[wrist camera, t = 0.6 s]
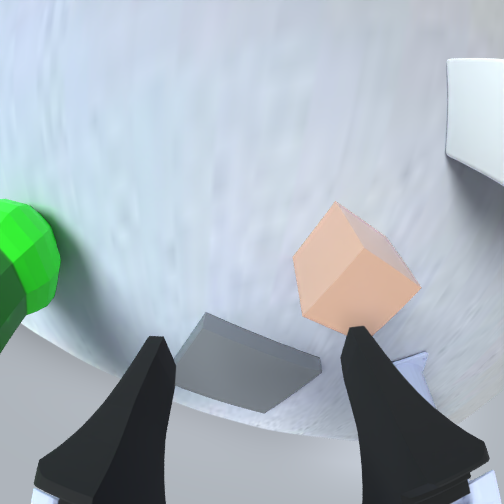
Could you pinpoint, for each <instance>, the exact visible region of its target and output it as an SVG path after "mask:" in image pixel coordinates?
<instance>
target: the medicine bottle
mask: <svg viewBox="0 0 504 504" xmlns="http://www.w3.org/2000/svg"><path fill="white" fill-rule="evenodd" d="M447 78H448V121H447V140H446V154H447V155H448V156H449V157H451V158H453V159H455V160H457V161H459V162H461V163H463V164H465V165H467V166H469V167H471V168H473V169H474V170H476V171H478V172H480V173H482V174H483V175H485V176H487V177H489V178H490V179H492V180H494V181H496V182H497V183H499V184H501V185H502V186H504V59H491V58H453V59H448V60H447Z"/></svg>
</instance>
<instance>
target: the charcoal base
mask: <svg viewBox="0 0 504 504" xmlns="http://www.w3.org/2000/svg"><path fill="white" fill-rule="evenodd" d="M174 362H175V364H176V378H175V386H178V387H181V388H183V389H186V390H189V391H191V392H194V393H197V394H200V395H203V396H206V397H209V398H212V399H215V400H218V401H221V402H225V403H228V404H231V405H235V406H238V407H242V408H245V409H249V410H253V411H256V412H260V413H266V412H267V411H269V410H271V409H272V408H274V407H275V406H276V405H278V404H279V403H281V402H282V401H284V400H285V399H287V398H288V397H290V396H291V395H292V394H294V393H295V392H297V391H298V390H299V389H301V388H302V387H303V386H305V385H306V384H307V383H309V382H310V381H311V380H313V379H314V378H315V377H317V376H318V375H319V374H321V373H322V370H321V364H320V358H318V357H316V356H313V355H310V354H307V353H305V352H302V351H299V350H296V349H294V348H291V347H288V346H286V345H283V344H281V343H278V342H275V341H273V340H270V339H268V338H265V337H263V336H260V335H258V334H255V333H253V332H251V331H248V330H246V329H243V328H241V327H239V326H236V325H234V324H231V323H229V322H227V321H224V320H222V319H220V318H218V317H215V316H213V315H211V314H209V313H205V314H204V316H203V317H202V319H201V320H200V321H199V323H198V324H197V326H196V327H195V329H194V330H193V332H192V333H191V335H190V336H189V338H188V339H187V341H186V342H185V344H184V345H183V346H182V348H181V349H180V351H179V352H178V354H177V355H176V357H175V358H174Z"/></svg>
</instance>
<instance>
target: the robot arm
mask: <svg viewBox="0 0 504 504" xmlns="http://www.w3.org/2000/svg"><path fill="white" fill-rule="evenodd" d="M427 357H428V353H427V352H422V353H419V354H417V355H414V356H411V357H408V358H405V359H402V360H399V361H395V362H391V360H390V359H389V358H388V357H387V355H386V354H385V353H384V352H383V350H382V349H381V348H380V346H379V345H378V344H377V342H376V341H375V340H374V338H373V337H372V335H371V334H370V333H369V331H368V330H367V329H366V327H365V326H357V327H349V330H348V334H347V337H346V341H345V344H344V348H343V351H342V354H341V357H340V358H341V364H342V371H343V377H344V382H345V386H346V389H347V393H348V396H349V400H350V404H351V407H352V411H353V415H354V418H355V422H356V426H357V431H358V437H359V444H360V454H361V464H362V483H363V501H362V504H502V503H501V498H500V493H499V489H498V485H497V480H496V476H495V472H494V470H491V471H489V472H487V473H485V474H483V475H482V476H480V477H478V478H476V479H474V480H471V481H469V478H470V477H471V475H470V472H471V471H473V470H475V469H477V468H478V467H480V466H482V465H483V464H485V463H486V462H488V461H489V455H488V452H487V448H486V446H485V443H484V441H482V440H480V439H478V438H476V437H475V436H473V435H471V434H469V433H467V432H466V431H464V430H463V429H462V428H460V427H459V426H457V425H456V424H454V423H453V422H452V421H450V420H449V419H448V418H447V417H445V416H444V415H443V414H442V413H440V412H439V411H438V410H437V409H436V407H435V404H434V402H433V399H432V396H431V393H430V391H429V388H428V386H427V383H426V380H425V378H424V375H423V371H424V367H425V364H426V361H427ZM175 378H176V364H175V362H174V359H173V357H172V355H171V353H170V350H169V348H168V346H167V343H166V341H165V339H164V337H159V336H149V337H148V338H147V340H146V342H145V343H144V345H143V346H142V348H141V350H140V351H139V353H138V354H137V356H136V357H135V359H134V360H133V362H132V364H131V365H130V367H129V368H128V370H127V371H126V373H125V374H124V375H123V377H122V378H121V380H120V382H119V383H118V384H117V385H116V387H115V388H114V389H113V391H112V392H111V394H110V395H109V396H108V398H107V399H106V400H105V402H104V403H103V404H102V405H101V406H100V407H99V409H98V410H97V411H96V412H95V413H94V414H93V415H92V416H91V418H90V419H89V420H88V421H87V422H86V423H85V424H84V425H83V426H82V427H81V428H80V429H79V430H78V431H77V432H76V433H74V434H73V435H72V436H71V437H70V438H68V439H67V440H66V441H65V442H64V443H63V444H61V445H60V446H59V447H57V448H56V449H55V450H53V451H52V452H50V453H49V454H47V455H46V456H44V457H43V458H42V459H40V460H39V463H38V467H37V472H36V476H35V481H34V485H35V486H36V487H38V488H39V489H41V490H43V491H45V492H47V493H49V494H51V495H49V494H47V493H45V492H43V491H40V490H38V489H36V488H34V490H33V495H32V500H31V504H166V501H165V486H164V454H165V439H166V432H167V426H168V421H169V415H170V410H171V405H172V400H173V394H174V389H175ZM52 495H53V496H52Z"/></svg>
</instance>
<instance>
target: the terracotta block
mask: <svg viewBox="0 0 504 504" xmlns="http://www.w3.org/2000/svg"><path fill="white" fill-rule="evenodd" d="M293 262H294V268H295V274H296V280H297V286H298V292H299V298H300V304H301V310H302V316H303V317H305V318H308V319H310V320H312V321H315V322H317V323H319V324H321V325H324V326H326V327H328V328H331V329H333V330H335V331H338V332H340V333H342V334H345V335H347V334H348V330H349V327H357V326H365V327H366V329H367V330H368V331H369V333H370V334H371V335H372V336H373V335H374V334H375V333H376V332H377V331H378V330H379V329H380V328H382V327H383V326H384V325H385V324H386V323H387V322H388V321H389V320H390V319H391V318H392V317H393V316H394V315H395V314H396V313H397V312H398V311H399V310H400V309H401V308H402V307H403V306H404V305H405V304H406V303H407V302H408V301H409V300H410V299H411V298H412V297H413V296H414V295H415V294H416V293H417V292H418V291H419V290H420V289H421V286H420V285H419V283H418V282H417V280H416V279H415V277H414V276H413V274H412V273H411V271H410V270H409V268H408V267H407V265H406V264H405V262H404V261H403V260H402V258H401V257H400V255H399V254H398V252H397V251H396V250H395V248H394V247H393V245H392V244H391V243H390V241H389V240H388V239H387V237H385V236H384V235H383V234H381V233H380V232H379V231H377V230H376V229H375V228H373V227H372V226H371V225H369V224H368V223H366V222H365V221H364V220H362V219H361V218H359V217H358V216H356V215H355V214H354V213H352V212H351V211H349V210H348V209H346V208H345V207H343V206H342V205H341V204H339V203H338V202H336V201H335V202H334V204H333V205H332V206H331V208H330V209H329V210H328V212H327V213H326V214H325V216H324V217H323V218H322V219H321V221H320V222H319V223H318V225H317V226H316V227H315V229H314V230H313V231H312V233H311V234H310V235H309V236H308V238H307V239H306V240H305V242H304V243H303V244H302V246H301V247H300V248H299V249H298V251H297V252H296V253H295V255H294V256H293Z"/></svg>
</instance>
